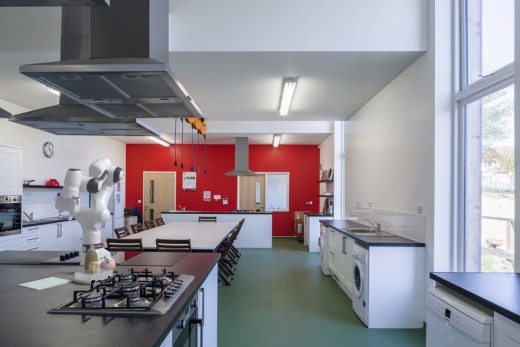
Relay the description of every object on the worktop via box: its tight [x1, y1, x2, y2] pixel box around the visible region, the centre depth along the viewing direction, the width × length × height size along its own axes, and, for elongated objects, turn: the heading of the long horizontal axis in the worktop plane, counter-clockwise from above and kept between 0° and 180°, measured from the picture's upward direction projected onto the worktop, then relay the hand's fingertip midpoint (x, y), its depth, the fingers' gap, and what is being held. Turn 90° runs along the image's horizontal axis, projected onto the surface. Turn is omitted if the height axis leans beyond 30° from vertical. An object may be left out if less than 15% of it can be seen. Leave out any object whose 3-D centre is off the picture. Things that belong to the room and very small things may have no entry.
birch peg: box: [89, 262, 100, 273], centre depth 192 cm, size 4×4×10 cm
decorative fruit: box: [100, 258, 116, 271], centre depth 206 cm, size 9×8×10 cm
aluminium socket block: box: [74, 268, 114, 286], centre depth 192 cm, size 14×14×5 cm
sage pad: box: [18, 276, 73, 291], centre depth 185 cm, size 18×18×1 cm
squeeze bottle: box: [83, 243, 98, 270], centre depth 210 cm, size 8×8×18 cm
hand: (64, 218), depth 197 cm, fingers open, 8 cm apart
